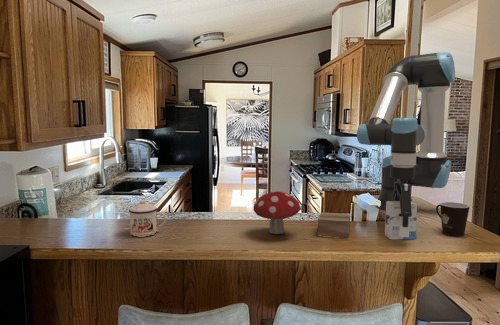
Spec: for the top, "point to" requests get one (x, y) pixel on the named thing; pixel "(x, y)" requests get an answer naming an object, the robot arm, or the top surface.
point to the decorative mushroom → (276, 209)
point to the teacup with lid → (144, 218)
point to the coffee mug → (453, 218)
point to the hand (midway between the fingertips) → (400, 230)
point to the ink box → (394, 220)
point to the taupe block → (334, 225)
